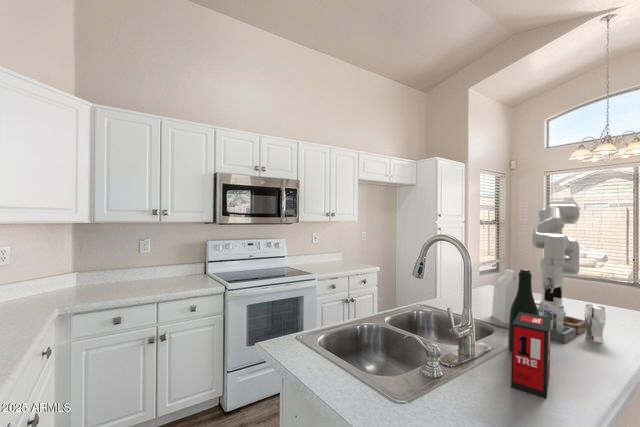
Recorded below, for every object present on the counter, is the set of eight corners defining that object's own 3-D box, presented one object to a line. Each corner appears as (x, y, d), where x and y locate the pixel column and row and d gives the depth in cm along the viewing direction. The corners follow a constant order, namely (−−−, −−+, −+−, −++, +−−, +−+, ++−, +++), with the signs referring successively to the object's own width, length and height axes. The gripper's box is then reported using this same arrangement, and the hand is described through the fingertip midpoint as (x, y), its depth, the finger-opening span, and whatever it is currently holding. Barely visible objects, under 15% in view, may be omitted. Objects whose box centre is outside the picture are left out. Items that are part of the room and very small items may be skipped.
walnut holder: (545, 326, 151) (545, 317, 151) (555, 322, 159) (555, 313, 159) (578, 335, 141) (578, 326, 141) (587, 330, 148) (587, 321, 148)
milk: (527, 324, 155) (528, 272, 155) (504, 323, 155) (505, 272, 155) (513, 316, 167) (514, 268, 167) (491, 315, 167) (492, 268, 167)
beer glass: (586, 341, 134) (587, 307, 134) (582, 336, 140) (582, 303, 140) (607, 345, 131) (608, 309, 131) (602, 339, 137) (602, 305, 137)
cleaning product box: (546, 399, 90) (547, 331, 90) (511, 387, 96) (512, 323, 96) (549, 377, 103) (550, 317, 103) (518, 368, 109) (519, 311, 109)
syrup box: (541, 333, 142) (542, 302, 142) (550, 332, 144) (551, 301, 144) (554, 338, 136) (555, 306, 137) (563, 337, 138) (564, 305, 139)
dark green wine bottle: (533, 349, 125) (535, 268, 125) (544, 361, 115) (546, 272, 115) (504, 345, 127) (506, 266, 128) (512, 357, 117) (514, 270, 118)
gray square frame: (530, 333, 142) (530, 325, 142) (541, 328, 149) (541, 320, 149) (564, 343, 131) (564, 334, 131) (575, 337, 138) (575, 328, 138)
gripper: (551, 259, 148) (550, 294, 148) (536, 262, 138) (535, 300, 139) (570, 261, 142) (570, 298, 142) (556, 265, 132) (555, 304, 132)
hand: (553, 299), depth 140 cm, fingers open, 9 cm apart
